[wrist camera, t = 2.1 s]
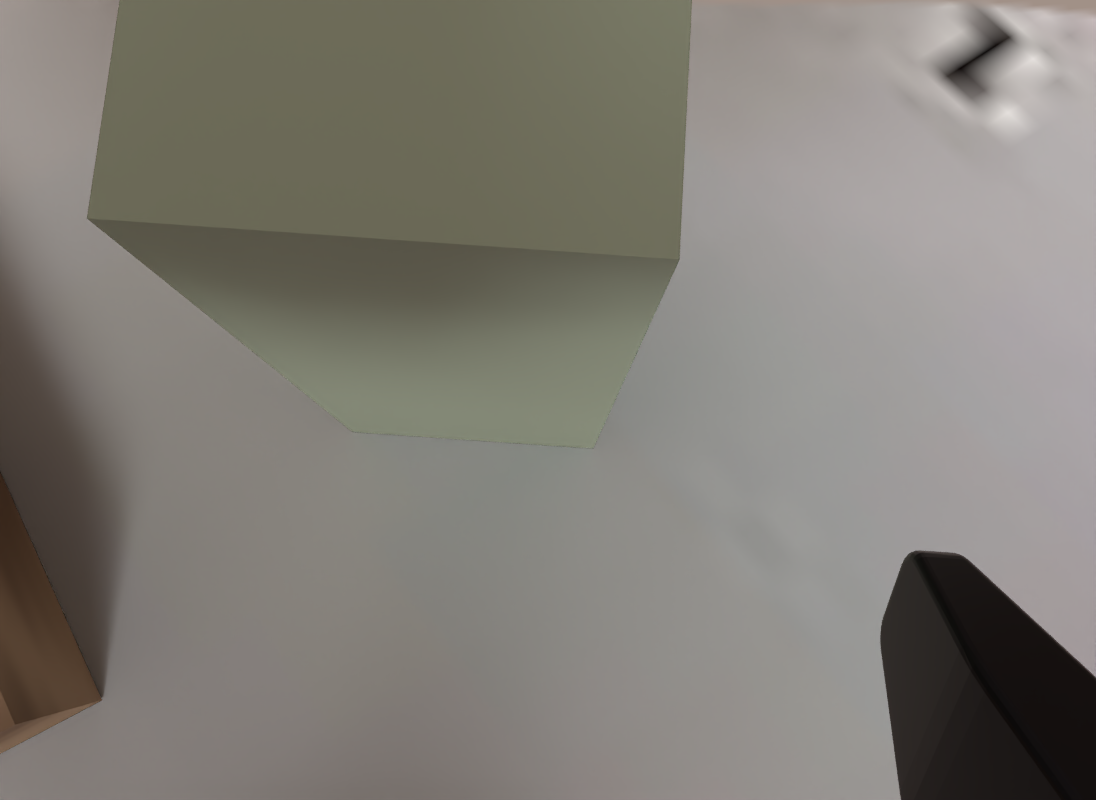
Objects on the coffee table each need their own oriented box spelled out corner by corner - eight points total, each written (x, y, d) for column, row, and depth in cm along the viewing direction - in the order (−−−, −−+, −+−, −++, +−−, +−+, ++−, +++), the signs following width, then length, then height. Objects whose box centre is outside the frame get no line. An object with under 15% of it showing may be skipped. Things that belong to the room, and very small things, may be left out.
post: (593, 448, 22) (679, 259, 9) (351, 431, 22) (86, 218, 9) (606, 218, 22) (703, -261, 10) (375, 202, 22) (163, -299, 10)
